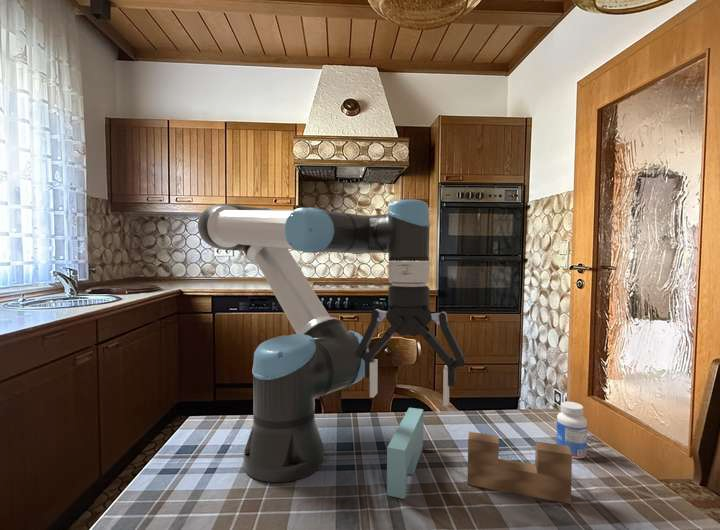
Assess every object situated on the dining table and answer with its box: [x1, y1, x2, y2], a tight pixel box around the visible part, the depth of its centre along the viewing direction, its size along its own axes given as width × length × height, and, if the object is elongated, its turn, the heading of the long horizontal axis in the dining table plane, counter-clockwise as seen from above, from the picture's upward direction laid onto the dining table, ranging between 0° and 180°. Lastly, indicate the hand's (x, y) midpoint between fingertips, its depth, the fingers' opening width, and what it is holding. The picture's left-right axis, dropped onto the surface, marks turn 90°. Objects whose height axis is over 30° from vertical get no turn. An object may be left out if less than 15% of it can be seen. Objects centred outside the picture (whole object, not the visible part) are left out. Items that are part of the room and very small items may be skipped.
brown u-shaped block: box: [467, 431, 573, 505], centre depth 66 cm, size 16×3×8 cm, turn 71°
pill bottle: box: [556, 401, 588, 459], centre depth 78 cm, size 6×5×10 cm
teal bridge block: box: [386, 407, 424, 500], centre depth 72 cm, size 3×18×8 cm, turn 161°
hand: (408, 399), depth 71 cm, fingers open, 13 cm apart
